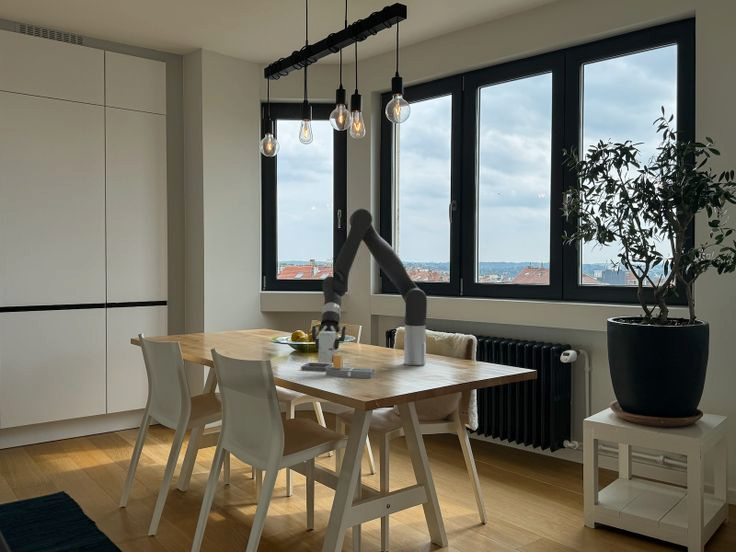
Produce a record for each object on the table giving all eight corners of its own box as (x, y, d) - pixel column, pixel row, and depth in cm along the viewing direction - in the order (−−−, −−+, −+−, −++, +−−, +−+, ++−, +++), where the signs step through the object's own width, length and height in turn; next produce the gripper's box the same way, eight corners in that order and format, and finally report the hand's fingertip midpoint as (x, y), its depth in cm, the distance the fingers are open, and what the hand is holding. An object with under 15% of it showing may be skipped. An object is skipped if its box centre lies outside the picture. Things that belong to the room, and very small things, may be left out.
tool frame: (332, 367, 276) (332, 363, 276) (325, 371, 266) (325, 367, 265) (308, 365, 278) (308, 362, 278) (301, 370, 268) (301, 366, 268)
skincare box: (317, 362, 257) (317, 332, 257) (321, 360, 262) (322, 330, 261) (332, 363, 255) (332, 332, 255) (336, 361, 260) (336, 331, 259)
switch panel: (374, 375, 258) (374, 368, 258) (370, 378, 251) (370, 371, 251) (330, 372, 262) (330, 366, 262) (325, 376, 255) (325, 369, 255)
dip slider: (342, 367, 259) (343, 354, 259) (340, 368, 255) (340, 356, 255) (335, 366, 260) (335, 354, 260) (333, 368, 256) (333, 355, 256)
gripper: (312, 310, 266) (307, 342, 255) (347, 310, 265) (344, 343, 253) (314, 321, 271) (309, 353, 260) (349, 322, 270) (345, 354, 259)
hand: (326, 348), depth 257 cm, fingers closed on skincare box, 6 cm apart
